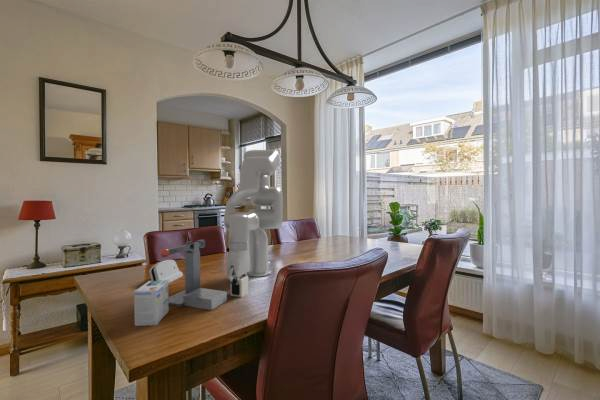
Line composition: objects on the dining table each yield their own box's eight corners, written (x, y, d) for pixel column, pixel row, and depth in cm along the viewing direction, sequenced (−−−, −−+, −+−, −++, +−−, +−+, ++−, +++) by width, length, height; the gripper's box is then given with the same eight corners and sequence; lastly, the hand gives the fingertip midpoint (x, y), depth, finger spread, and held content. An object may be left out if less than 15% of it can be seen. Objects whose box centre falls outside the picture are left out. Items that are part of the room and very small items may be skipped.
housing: (237, 291, 121) (237, 272, 121) (248, 292, 119) (248, 273, 119) (230, 295, 116) (230, 275, 116) (241, 297, 115) (241, 277, 114)
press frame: (192, 289, 124) (191, 240, 123) (236, 295, 117) (236, 243, 116) (159, 303, 108) (159, 248, 107) (208, 311, 101) (208, 252, 100)
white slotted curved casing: (162, 286, 128) (155, 264, 128) (153, 289, 128) (145, 267, 129) (183, 275, 144) (176, 255, 144) (175, 278, 145) (168, 258, 145)
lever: (199, 246, 127) (199, 239, 127) (206, 247, 126) (206, 239, 125) (157, 258, 105) (157, 248, 105) (164, 258, 104) (164, 249, 104)
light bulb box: (148, 312, 100) (148, 280, 100) (169, 311, 101) (169, 279, 101) (133, 326, 90) (133, 290, 89) (157, 325, 90) (156, 290, 90)
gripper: (242, 241, 126) (242, 284, 127) (218, 249, 110) (218, 298, 111) (258, 242, 124) (258, 286, 124) (235, 250, 108) (236, 300, 108)
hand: (239, 291), depth 118 cm, fingers closed on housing, 5 cm apart
